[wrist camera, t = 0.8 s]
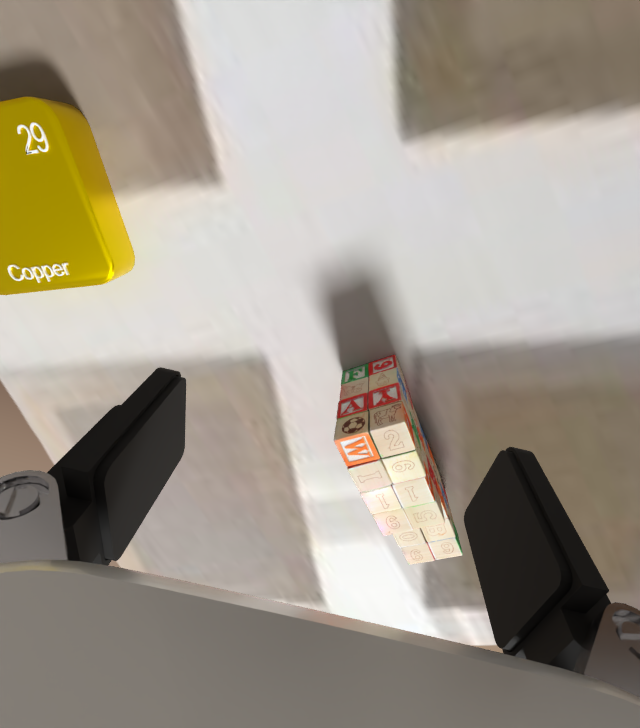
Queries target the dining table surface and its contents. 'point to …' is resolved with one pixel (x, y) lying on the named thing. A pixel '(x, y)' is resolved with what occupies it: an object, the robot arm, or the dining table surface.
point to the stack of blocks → (394, 461)
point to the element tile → (55, 202)
